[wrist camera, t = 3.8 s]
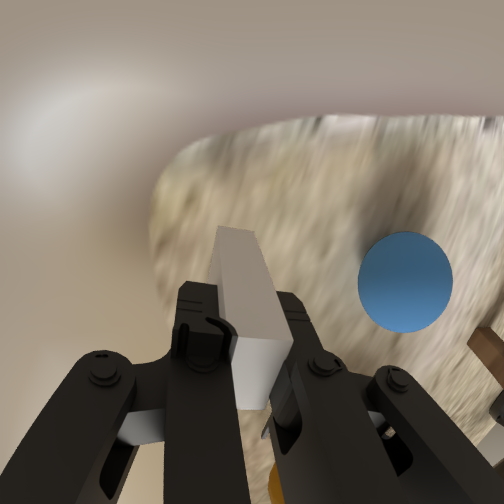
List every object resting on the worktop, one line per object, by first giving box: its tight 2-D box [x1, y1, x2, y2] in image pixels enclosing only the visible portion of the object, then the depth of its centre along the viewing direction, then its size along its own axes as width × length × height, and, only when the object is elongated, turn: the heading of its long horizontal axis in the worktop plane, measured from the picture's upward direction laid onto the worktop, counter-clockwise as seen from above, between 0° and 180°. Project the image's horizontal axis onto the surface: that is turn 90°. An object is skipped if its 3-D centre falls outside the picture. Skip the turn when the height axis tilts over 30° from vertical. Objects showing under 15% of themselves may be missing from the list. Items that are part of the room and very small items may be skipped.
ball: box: [358, 232, 453, 333], centre depth 15 cm, size 6×6×6 cm
